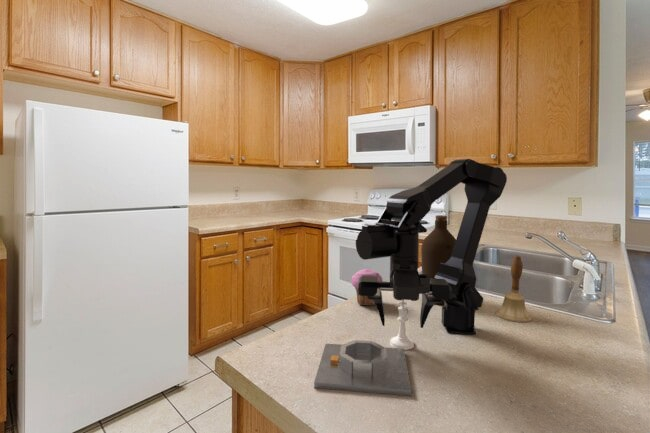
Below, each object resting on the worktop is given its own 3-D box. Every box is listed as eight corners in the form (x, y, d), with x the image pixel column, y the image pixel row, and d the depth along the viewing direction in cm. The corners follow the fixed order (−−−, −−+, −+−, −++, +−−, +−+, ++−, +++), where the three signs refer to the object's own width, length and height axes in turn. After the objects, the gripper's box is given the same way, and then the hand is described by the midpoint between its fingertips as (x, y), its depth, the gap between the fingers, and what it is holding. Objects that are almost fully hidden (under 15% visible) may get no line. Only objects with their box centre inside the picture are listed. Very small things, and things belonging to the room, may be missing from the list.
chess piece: (414, 351, 70) (415, 304, 69) (390, 348, 71) (391, 302, 70) (413, 340, 75) (414, 296, 74) (390, 338, 76) (391, 294, 75)
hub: (403, 353, 69) (403, 336, 69) (410, 395, 55) (411, 375, 55) (325, 348, 72) (325, 332, 71) (314, 387, 58) (314, 368, 57)
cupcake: (351, 308, 94) (351, 273, 93) (350, 298, 102) (351, 265, 101) (384, 309, 93) (384, 273, 92) (380, 298, 102) (381, 265, 101)
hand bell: (534, 315, 89) (538, 255, 88) (528, 325, 83) (532, 261, 81) (499, 307, 94) (502, 251, 93) (491, 316, 88) (494, 256, 87)
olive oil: (465, 300, 100) (468, 216, 97) (443, 309, 93) (446, 218, 91) (433, 291, 108) (436, 213, 106) (412, 298, 102) (414, 215, 99)
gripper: (357, 262, 65) (356, 340, 66) (460, 265, 62) (456, 347, 64) (359, 250, 76) (359, 318, 77) (447, 252, 73) (444, 322, 75)
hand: (402, 326), depth 73 cm, fingers open, 8 cm apart
